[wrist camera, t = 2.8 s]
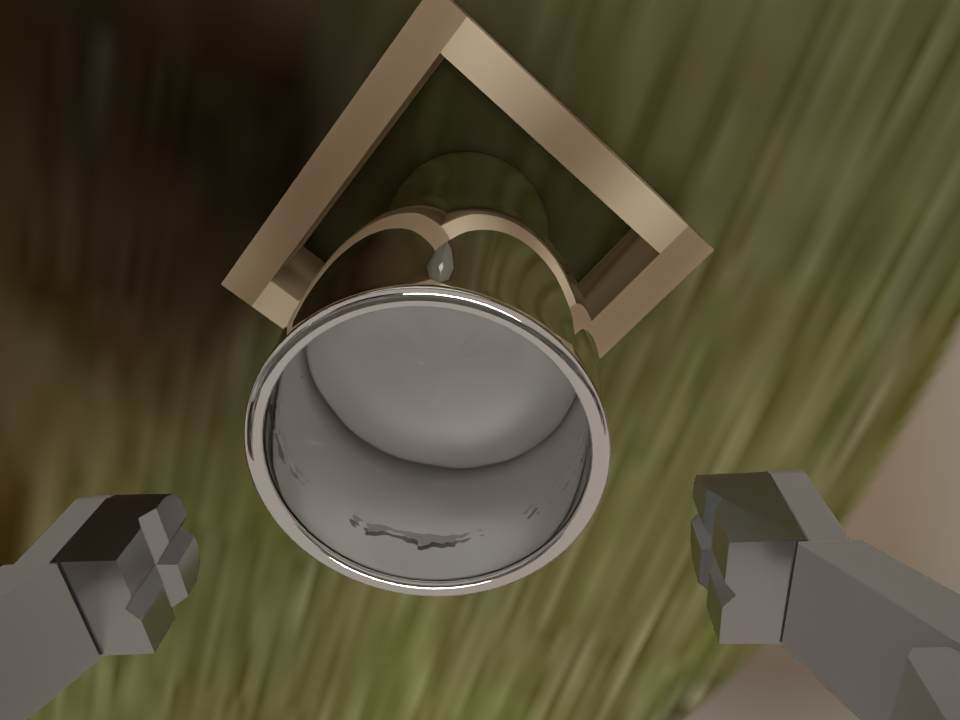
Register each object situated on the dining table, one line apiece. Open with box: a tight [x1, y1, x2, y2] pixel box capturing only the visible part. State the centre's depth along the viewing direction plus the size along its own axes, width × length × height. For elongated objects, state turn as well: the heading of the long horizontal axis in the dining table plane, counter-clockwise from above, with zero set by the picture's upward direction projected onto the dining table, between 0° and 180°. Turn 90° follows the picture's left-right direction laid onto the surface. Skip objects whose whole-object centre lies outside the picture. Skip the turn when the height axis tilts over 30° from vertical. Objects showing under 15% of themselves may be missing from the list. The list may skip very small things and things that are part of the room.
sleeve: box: [221, 0, 714, 359], centre depth 24 cm, size 11×11×4 cm
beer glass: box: [244, 152, 611, 596], centre depth 19 cm, size 7×7×15 cm
